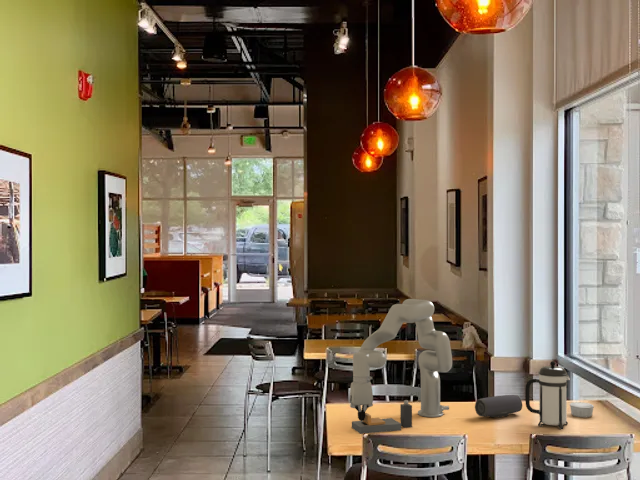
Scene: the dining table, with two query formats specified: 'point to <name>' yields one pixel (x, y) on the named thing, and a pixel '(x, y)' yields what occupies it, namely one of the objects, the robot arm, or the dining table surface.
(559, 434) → the dining table surface
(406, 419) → the dark grey square bottle
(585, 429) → the dining table surface
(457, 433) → the dining table surface
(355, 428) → the socket block
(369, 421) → the orange l-shaped block
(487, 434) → the dining table surface
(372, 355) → the robot arm
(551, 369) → the coffee press
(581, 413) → the ramekin
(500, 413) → the bluetooth speaker
